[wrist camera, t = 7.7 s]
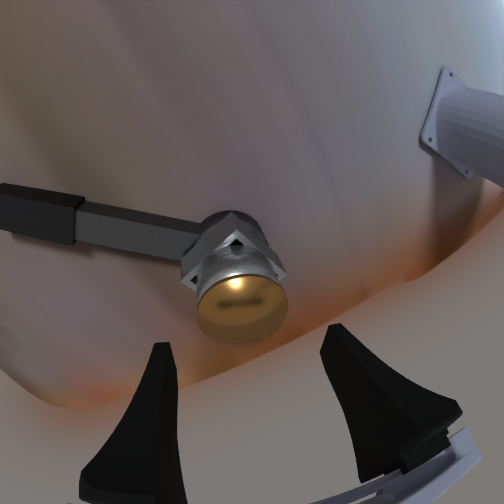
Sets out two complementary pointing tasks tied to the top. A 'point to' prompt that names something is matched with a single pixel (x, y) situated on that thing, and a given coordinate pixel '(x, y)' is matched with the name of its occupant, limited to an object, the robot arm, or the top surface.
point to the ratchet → (104, 223)
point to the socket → (235, 283)
